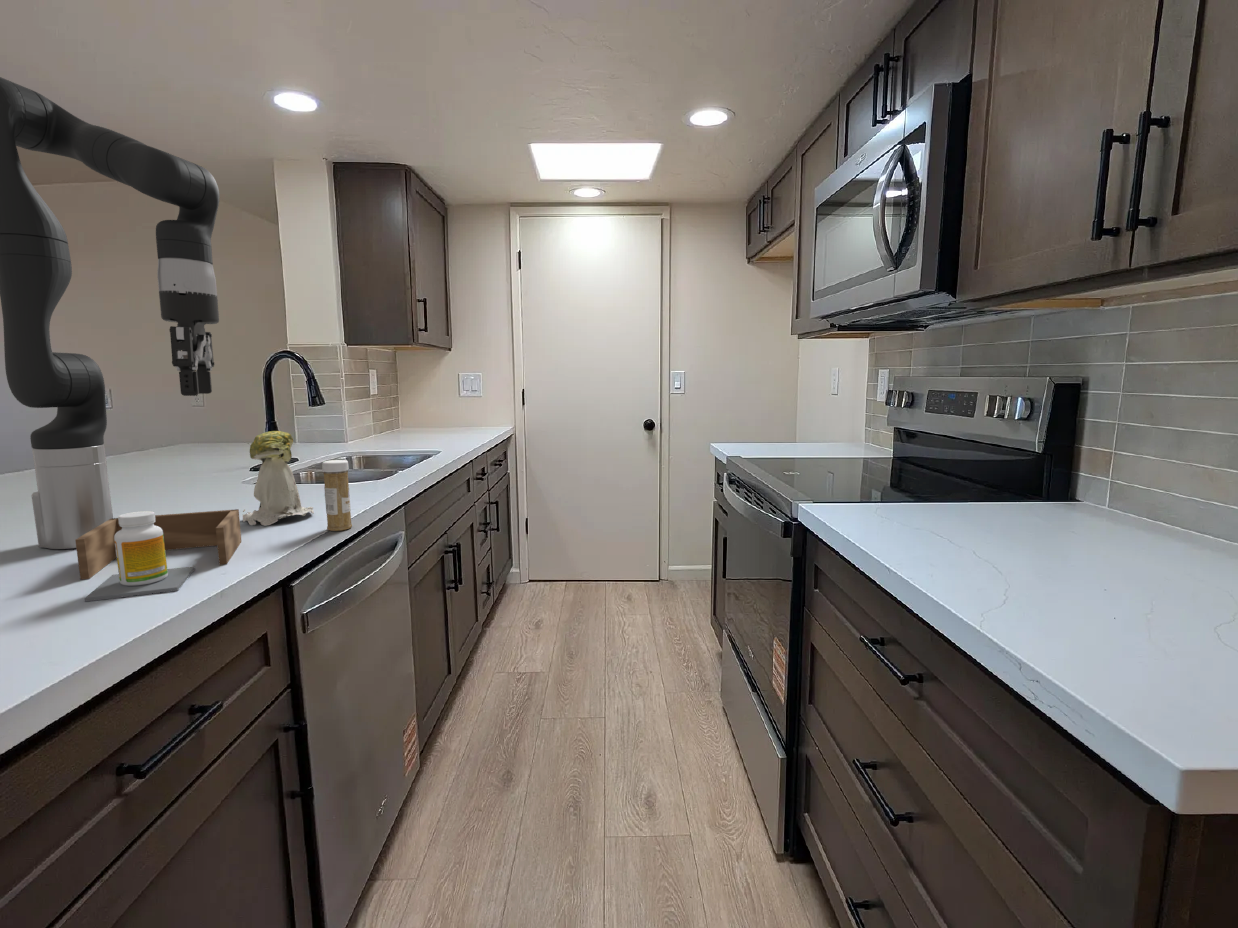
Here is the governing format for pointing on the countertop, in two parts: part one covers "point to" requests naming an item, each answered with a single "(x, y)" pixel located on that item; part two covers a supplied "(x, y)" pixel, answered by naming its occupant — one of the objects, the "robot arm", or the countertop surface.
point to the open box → (177, 533)
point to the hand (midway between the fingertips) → (197, 394)
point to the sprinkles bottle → (337, 495)
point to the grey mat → (117, 590)
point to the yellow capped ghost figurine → (274, 479)
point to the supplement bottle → (140, 549)
